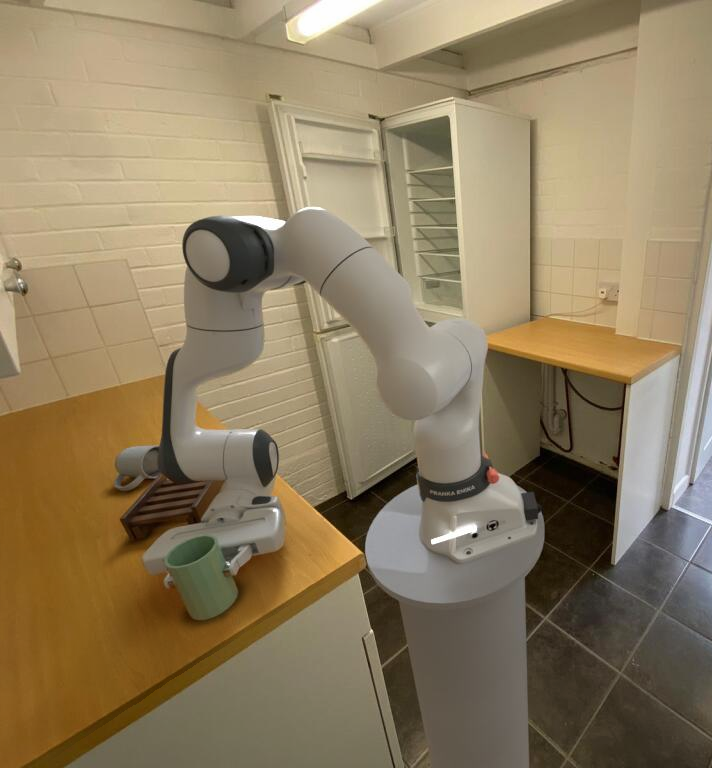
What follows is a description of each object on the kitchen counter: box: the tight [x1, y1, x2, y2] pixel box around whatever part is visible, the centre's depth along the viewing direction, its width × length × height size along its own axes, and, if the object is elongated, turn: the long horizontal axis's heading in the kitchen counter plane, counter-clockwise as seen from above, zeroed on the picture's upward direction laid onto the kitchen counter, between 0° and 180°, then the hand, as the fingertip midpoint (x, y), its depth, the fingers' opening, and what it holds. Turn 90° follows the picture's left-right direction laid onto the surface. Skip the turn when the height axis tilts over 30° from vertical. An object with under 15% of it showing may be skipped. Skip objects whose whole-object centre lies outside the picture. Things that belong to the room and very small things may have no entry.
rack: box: [119, 473, 225, 542], centre depth 87 cm, size 13×15×6 cm
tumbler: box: [164, 534, 239, 621], centre depth 65 cm, size 7×7×11 cm
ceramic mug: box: [113, 444, 161, 492], centre depth 98 cm, size 11×8×8 cm
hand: (200, 578), depth 64 cm, fingers closed on tumbler, 6 cm apart
